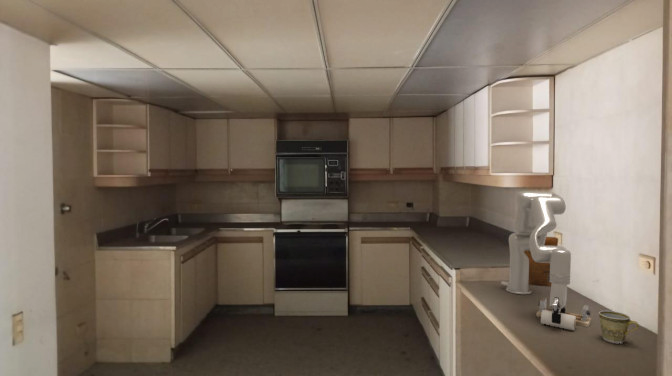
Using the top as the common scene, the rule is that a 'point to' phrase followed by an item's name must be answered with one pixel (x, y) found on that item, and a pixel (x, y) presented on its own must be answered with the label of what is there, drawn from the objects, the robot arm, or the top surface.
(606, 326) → the ceramic cup
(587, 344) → the top surface
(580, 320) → the roll cradle
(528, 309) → the top surface
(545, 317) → the paper roll
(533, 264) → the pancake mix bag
